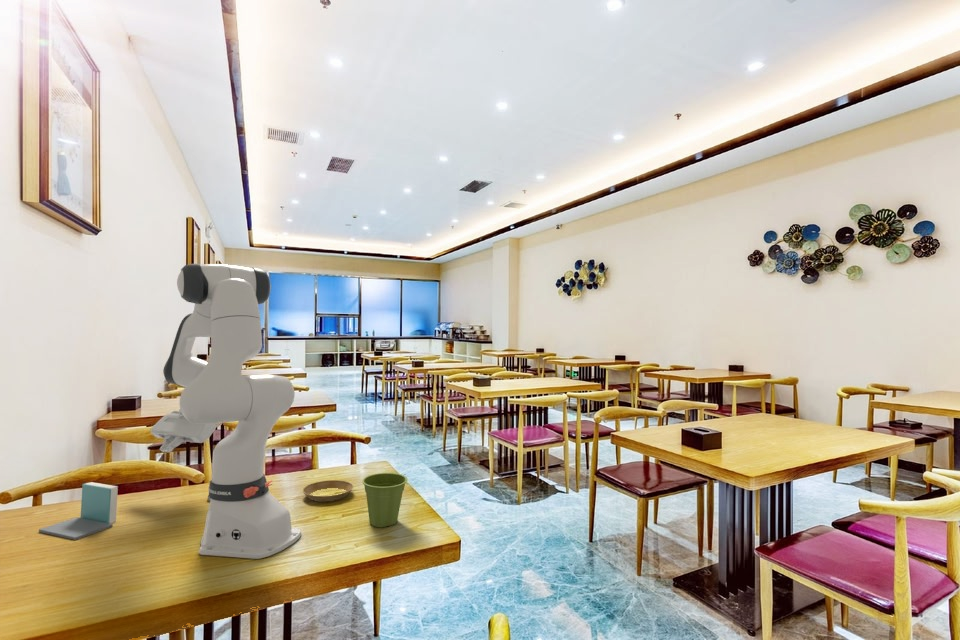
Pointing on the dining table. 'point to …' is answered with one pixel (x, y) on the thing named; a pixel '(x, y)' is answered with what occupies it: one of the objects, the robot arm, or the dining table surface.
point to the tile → (99, 502)
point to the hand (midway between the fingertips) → (164, 451)
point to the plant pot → (384, 497)
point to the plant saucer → (325, 485)
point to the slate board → (75, 528)
